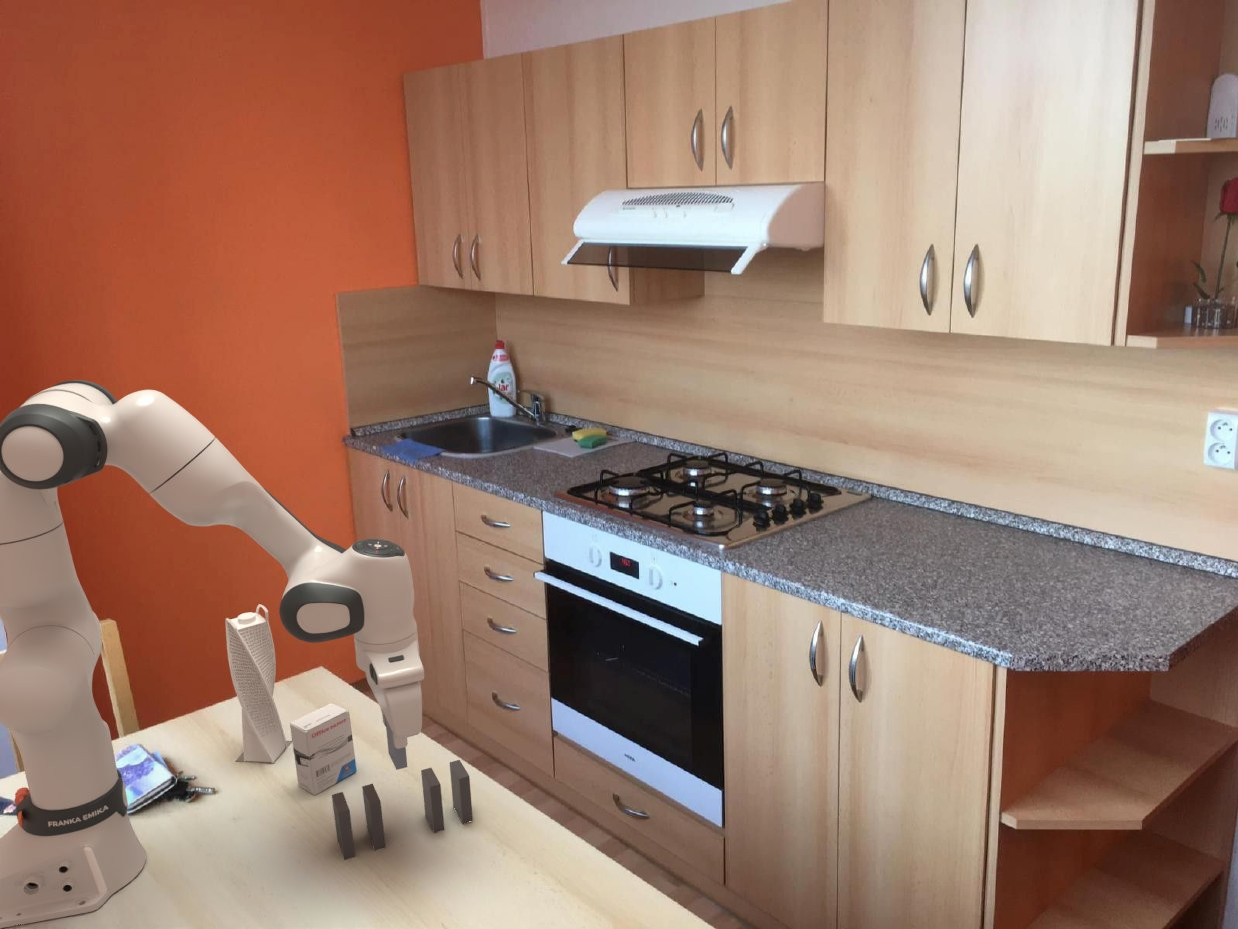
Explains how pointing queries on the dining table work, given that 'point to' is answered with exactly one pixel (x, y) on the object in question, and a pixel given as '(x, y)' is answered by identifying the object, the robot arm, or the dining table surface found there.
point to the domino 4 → (432, 800)
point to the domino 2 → (373, 817)
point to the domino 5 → (461, 791)
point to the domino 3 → (395, 750)
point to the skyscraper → (255, 686)
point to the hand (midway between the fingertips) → (395, 735)
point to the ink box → (323, 748)
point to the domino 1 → (343, 825)
